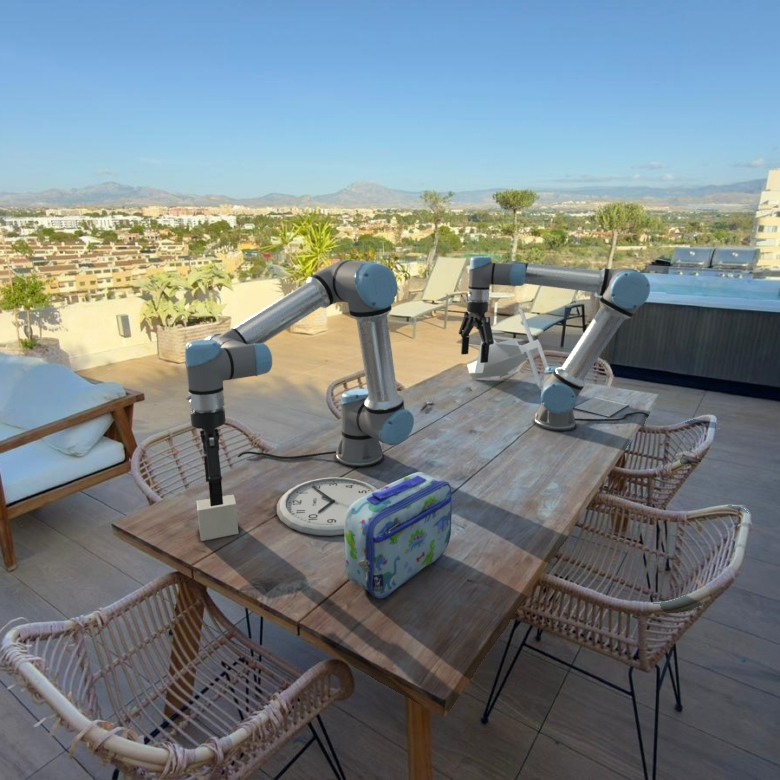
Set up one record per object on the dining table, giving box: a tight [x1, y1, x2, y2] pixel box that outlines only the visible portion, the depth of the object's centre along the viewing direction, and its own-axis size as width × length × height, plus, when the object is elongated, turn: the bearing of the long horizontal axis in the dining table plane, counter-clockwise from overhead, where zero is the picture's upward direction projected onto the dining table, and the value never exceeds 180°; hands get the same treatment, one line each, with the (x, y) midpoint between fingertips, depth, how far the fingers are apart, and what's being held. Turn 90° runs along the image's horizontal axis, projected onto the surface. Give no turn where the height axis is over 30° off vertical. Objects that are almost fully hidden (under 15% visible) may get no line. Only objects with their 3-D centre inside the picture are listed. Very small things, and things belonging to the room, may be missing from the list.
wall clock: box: [276, 476, 379, 537], centre depth 142 cm, size 30×2×30 cm
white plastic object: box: [467, 307, 550, 392], centre depth 256 cm, size 37×45×31 cm
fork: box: [420, 396, 435, 411], centre depth 223 cm, size 3×16×2 cm, turn 160°
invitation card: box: [573, 396, 629, 418], centre depth 226 cm, size 21×1×15 cm
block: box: [196, 494, 240, 542], centre depth 128 cm, size 5×9×8 cm, turn 113°
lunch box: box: [343, 471, 453, 599], centre depth 113 cm, size 26×11×21 cm, turn 134°
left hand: (214, 491), depth 126 cm, fingers open, 13 cm apart
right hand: (474, 358), depth 194 cm, fingers open, 13 cm apart
